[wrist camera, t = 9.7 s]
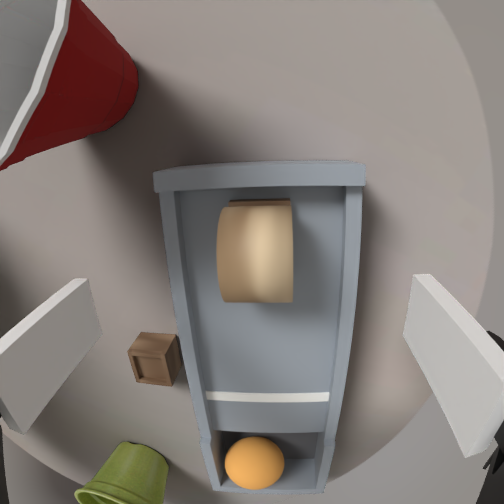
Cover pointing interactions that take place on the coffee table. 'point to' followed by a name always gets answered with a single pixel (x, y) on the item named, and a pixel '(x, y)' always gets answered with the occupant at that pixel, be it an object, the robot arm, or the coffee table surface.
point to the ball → (254, 463)
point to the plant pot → (128, 478)
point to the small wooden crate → (155, 358)
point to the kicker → (255, 251)
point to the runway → (266, 313)
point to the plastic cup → (58, 76)
